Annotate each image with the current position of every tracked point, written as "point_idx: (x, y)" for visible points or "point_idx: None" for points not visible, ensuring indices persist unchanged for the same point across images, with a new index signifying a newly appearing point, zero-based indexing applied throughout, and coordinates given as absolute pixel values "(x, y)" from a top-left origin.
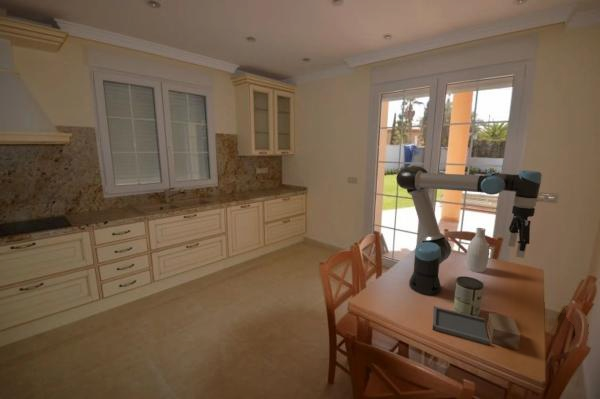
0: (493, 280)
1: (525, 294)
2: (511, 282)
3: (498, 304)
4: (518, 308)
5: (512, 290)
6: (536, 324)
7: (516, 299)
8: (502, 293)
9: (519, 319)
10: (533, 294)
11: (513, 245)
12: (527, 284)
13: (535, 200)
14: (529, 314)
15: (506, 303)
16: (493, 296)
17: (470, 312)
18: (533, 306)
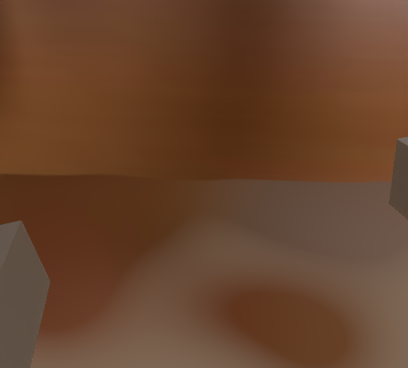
0: (387, 11)
1: (290, 140)
2: (392, 92)
3: (112, 29)
4: (132, 111)
5: (306, 93)
6: (33, 165)
7: (219, 106)
8: (250, 50)
9: (24, 111)
10: (304, 166)
11: (401, 199)
12: (393, 150)
13: None
14: (105, 147)
15: (149, 65)
16: (190, 7)
17: None
18: (190, 162)
